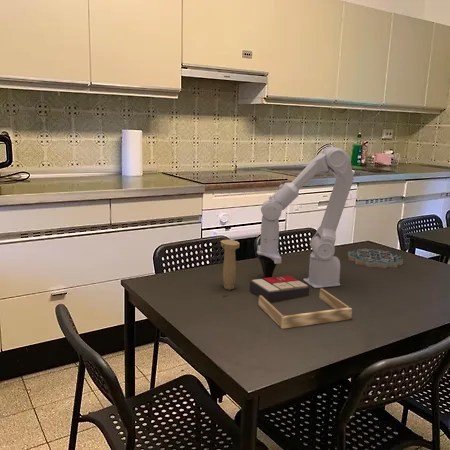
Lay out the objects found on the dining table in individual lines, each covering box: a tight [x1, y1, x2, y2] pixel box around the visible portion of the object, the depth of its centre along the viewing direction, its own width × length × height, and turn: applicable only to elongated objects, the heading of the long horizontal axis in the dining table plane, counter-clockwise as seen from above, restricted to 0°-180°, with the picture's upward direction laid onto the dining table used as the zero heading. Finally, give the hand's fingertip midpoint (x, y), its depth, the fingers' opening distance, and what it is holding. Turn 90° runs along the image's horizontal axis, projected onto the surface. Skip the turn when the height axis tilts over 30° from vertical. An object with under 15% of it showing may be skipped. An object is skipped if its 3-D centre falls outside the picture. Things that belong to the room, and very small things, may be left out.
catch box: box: [258, 287, 353, 330], centre depth 127 cm, size 21×16×3 cm
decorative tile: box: [347, 247, 404, 269], centre depth 176 cm, size 20×20×2 cm
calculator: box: [249, 274, 310, 304], centre depth 140 cm, size 11×4×15 cm
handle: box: [220, 239, 240, 291], centre depth 142 cm, size 5×6×15 cm
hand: (267, 278), depth 149 cm, fingers closed
